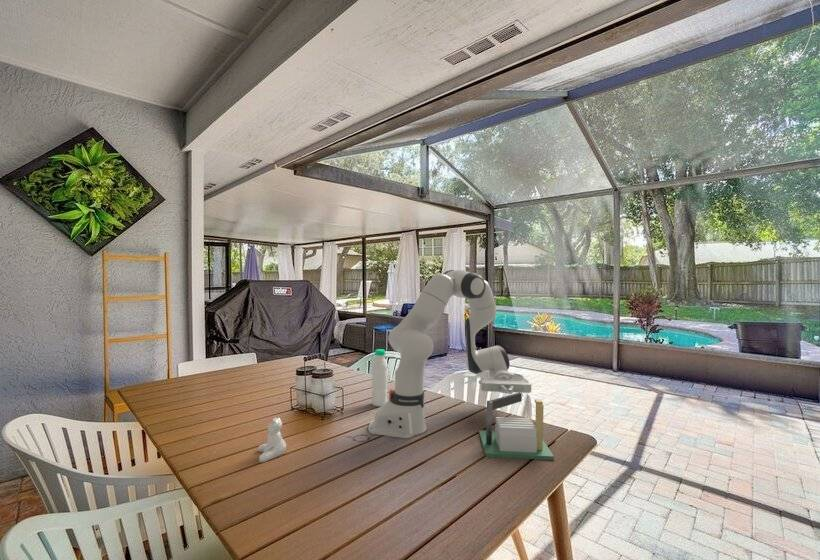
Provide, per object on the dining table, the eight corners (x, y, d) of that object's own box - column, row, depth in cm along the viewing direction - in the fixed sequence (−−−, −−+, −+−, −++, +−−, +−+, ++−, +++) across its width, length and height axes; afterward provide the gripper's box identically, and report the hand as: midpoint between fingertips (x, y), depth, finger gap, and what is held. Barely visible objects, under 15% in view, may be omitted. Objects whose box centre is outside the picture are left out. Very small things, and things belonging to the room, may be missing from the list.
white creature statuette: (258, 450, 125) (258, 414, 125) (285, 445, 128) (285, 411, 128) (258, 463, 116) (259, 425, 116) (287, 458, 120) (288, 421, 120)
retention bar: (489, 444, 128) (489, 402, 128) (484, 442, 130) (485, 401, 130) (521, 432, 139) (522, 393, 139) (517, 430, 141) (518, 392, 140)
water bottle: (384, 407, 166) (385, 351, 166) (369, 406, 168) (370, 350, 167) (388, 402, 173) (389, 348, 173) (374, 400, 175) (375, 347, 174)
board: (485, 456, 123) (486, 405, 123) (479, 433, 141) (480, 388, 141) (553, 460, 121) (555, 407, 121) (538, 435, 139) (539, 390, 139)
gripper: (478, 373, 160) (482, 382, 146) (526, 374, 159) (535, 384, 145) (477, 387, 160) (481, 398, 146) (526, 389, 159) (534, 400, 145)
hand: (508, 391), depth 146 cm, fingers closed
